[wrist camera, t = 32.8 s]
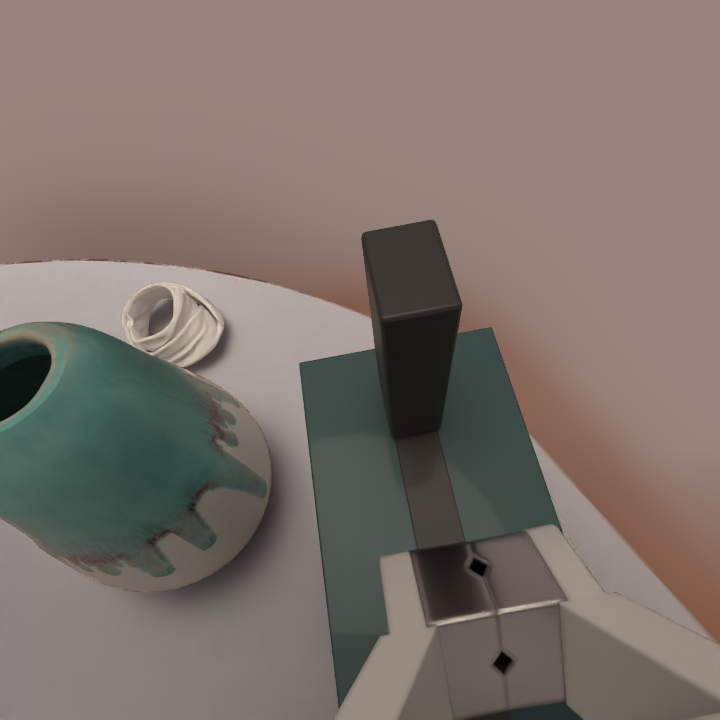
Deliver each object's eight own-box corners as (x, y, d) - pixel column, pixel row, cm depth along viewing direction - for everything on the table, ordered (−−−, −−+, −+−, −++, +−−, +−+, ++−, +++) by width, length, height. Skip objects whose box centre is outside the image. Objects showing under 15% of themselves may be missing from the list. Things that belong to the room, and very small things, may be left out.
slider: (391, 439, 13) (379, 322, 8) (378, 374, 14) (359, 230, 9) (441, 429, 13) (464, 305, 8) (425, 365, 14) (435, 216, 9)
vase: (142, 408, 35) (-81, 237, 19) (299, 417, 33) (200, 241, 17) (85, 584, 29) (-290, 552, 14) (268, 604, 28) (87, 596, 12)
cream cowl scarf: (249, 333, 37) (232, 291, 33) (185, 395, 35) (157, 357, 31) (181, 290, 40) (157, 246, 36) (117, 344, 38) (83, 304, 34)
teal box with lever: (383, 680, 26) (342, 789, 10) (353, 490, 31) (294, 358, 15) (496, 659, 26) (640, 735, 10) (449, 473, 31) (494, 321, 15)
